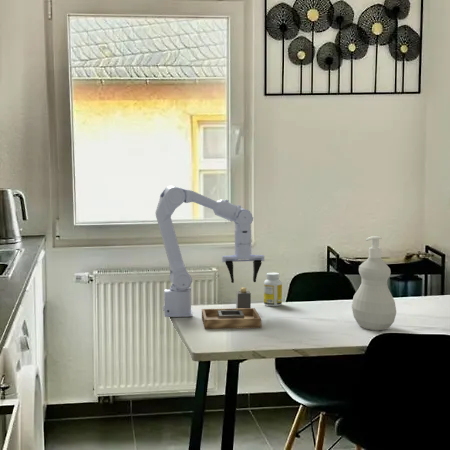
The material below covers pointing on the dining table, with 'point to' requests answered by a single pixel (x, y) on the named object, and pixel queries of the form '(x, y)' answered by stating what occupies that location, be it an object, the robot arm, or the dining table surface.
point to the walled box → (249, 319)
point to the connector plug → (243, 299)
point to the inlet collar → (230, 314)
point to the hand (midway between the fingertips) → (243, 282)
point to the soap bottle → (374, 292)
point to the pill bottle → (272, 290)
